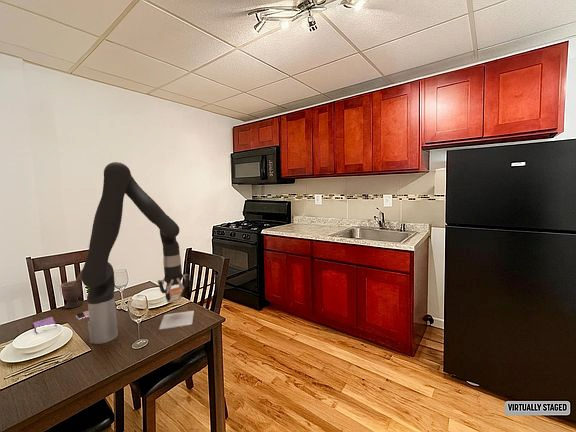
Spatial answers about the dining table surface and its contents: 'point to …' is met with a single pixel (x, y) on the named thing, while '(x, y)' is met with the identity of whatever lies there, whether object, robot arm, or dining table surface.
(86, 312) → the mobile phone
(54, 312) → the dining table surface
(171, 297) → the card box
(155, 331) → the dining table surface
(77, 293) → the mortar and pestle
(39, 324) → the sponges
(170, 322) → the mat
